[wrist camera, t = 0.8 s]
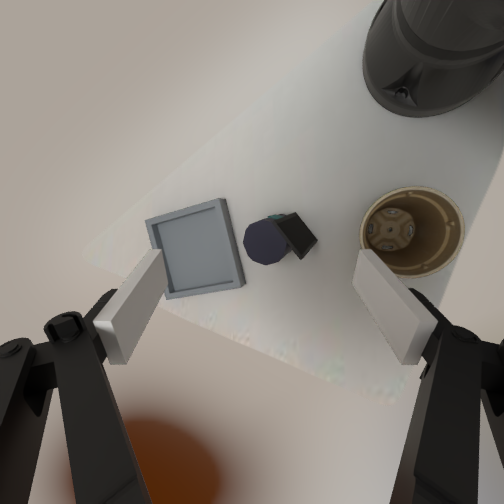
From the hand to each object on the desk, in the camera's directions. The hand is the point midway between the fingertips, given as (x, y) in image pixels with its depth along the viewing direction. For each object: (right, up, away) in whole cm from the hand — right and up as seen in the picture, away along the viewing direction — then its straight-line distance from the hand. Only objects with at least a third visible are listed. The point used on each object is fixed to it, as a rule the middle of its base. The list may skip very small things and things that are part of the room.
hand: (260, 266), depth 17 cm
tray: (-10, +1, +25) cm, 27 cm away
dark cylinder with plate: (+5, +3, +21) cm, 22 cm away
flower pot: (+18, +4, +17) cm, 25 cm away
